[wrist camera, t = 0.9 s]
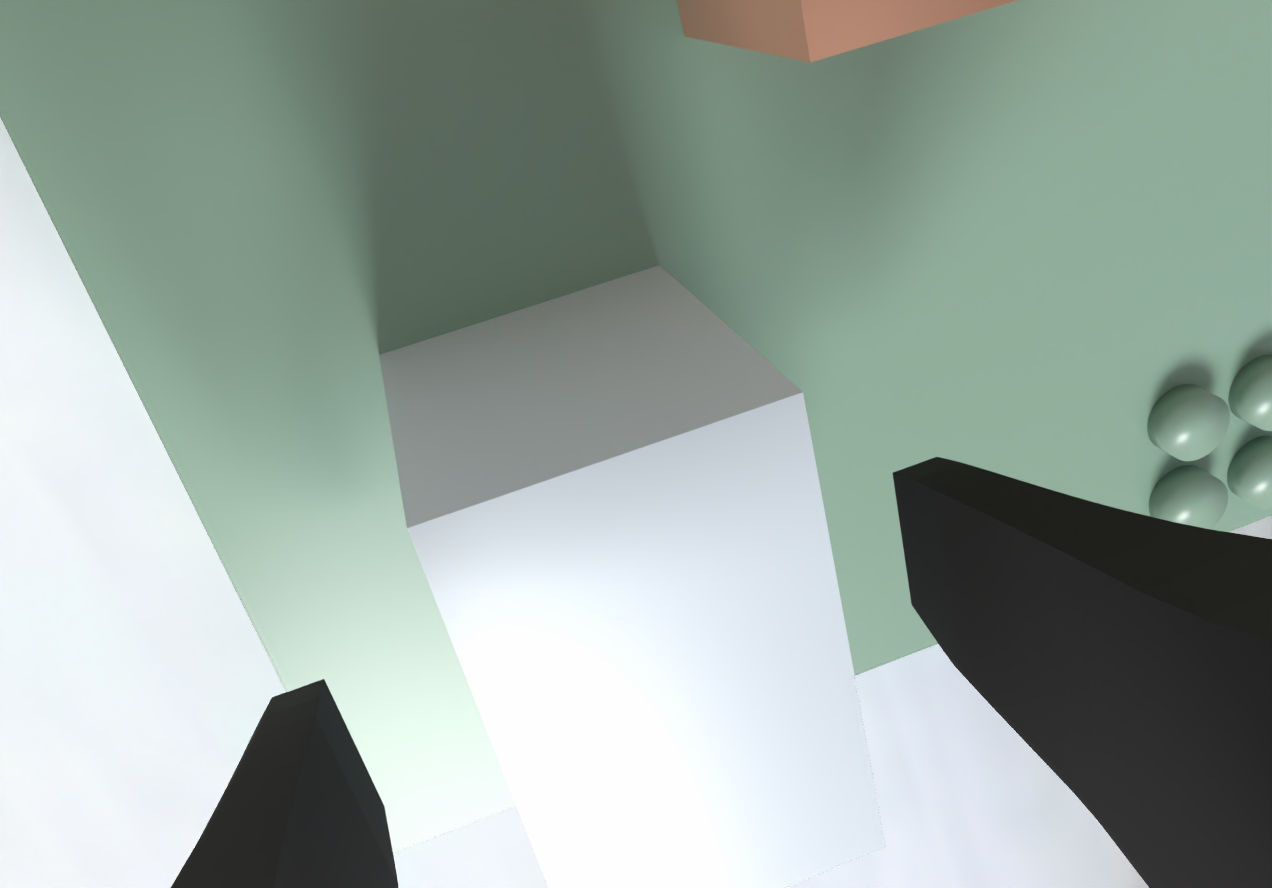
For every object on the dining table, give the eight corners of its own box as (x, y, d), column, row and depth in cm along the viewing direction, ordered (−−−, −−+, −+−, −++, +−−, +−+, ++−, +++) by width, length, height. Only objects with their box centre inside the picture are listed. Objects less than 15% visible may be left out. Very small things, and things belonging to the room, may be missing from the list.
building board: (1327, -1053, 12) (1454, -1180, 11) (1268, 478, 21) (1331, 513, 20) (-408, -776, 10) (-525, -895, 8) (367, 819, 19) (372, 884, 17)
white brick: (659, 265, 15) (803, 391, 11) (745, 628, 18) (885, 847, 13) (378, 354, 14) (406, 528, 10) (514, 714, 17) (581, 971, 13)
